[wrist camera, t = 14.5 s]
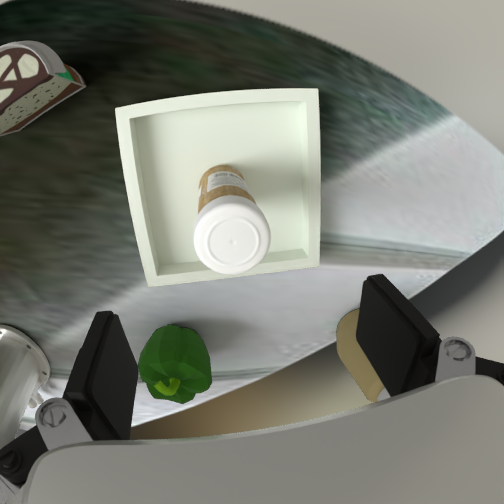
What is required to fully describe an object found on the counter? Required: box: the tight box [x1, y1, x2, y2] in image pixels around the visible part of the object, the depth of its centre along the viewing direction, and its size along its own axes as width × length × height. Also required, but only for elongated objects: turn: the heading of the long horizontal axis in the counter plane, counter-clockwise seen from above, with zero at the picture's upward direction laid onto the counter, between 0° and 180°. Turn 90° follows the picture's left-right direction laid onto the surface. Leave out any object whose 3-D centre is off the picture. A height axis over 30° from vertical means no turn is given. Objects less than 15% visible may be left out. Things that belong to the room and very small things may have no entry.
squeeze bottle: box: [336, 309, 390, 402], centre depth 33 cm, size 8×8×18 cm
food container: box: [0, 41, 87, 136], centre depth 18 cm, size 12×6×10 cm, turn 109°
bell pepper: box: [138, 325, 212, 404], centre depth 34 cm, size 8×8×10 cm
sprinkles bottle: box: [193, 165, 271, 274], centre depth 24 cm, size 5×5×13 cm
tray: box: [115, 88, 321, 287], centre depth 29 cm, size 18×18×3 cm
